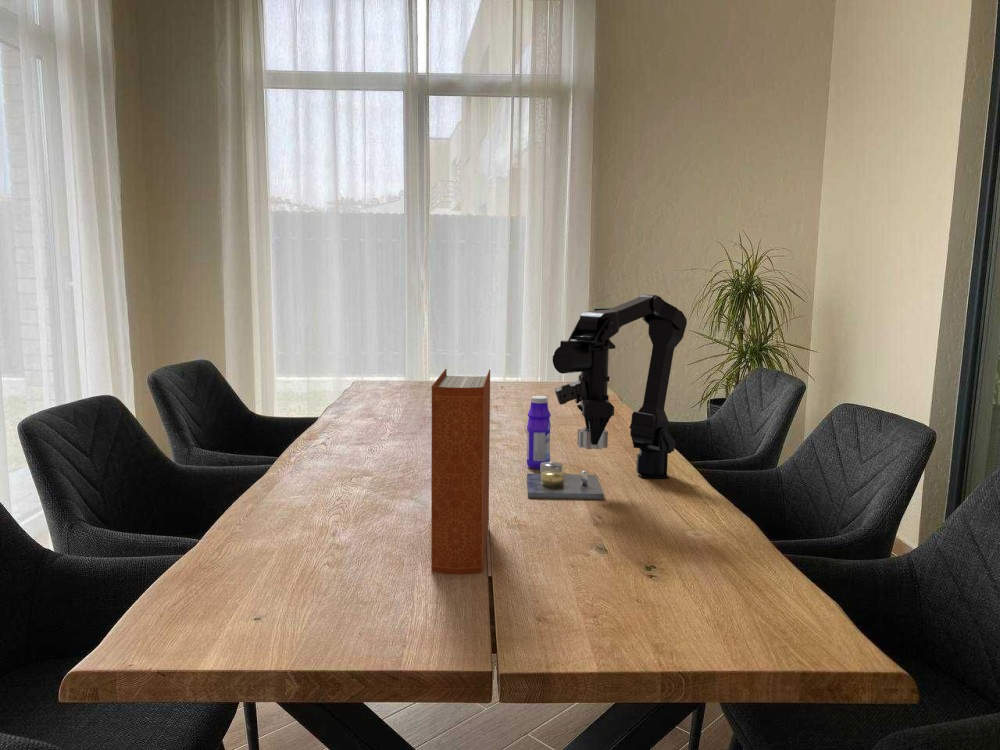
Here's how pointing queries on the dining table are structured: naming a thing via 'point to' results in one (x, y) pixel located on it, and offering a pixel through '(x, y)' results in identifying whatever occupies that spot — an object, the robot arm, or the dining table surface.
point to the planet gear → (585, 439)
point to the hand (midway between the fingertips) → (592, 441)
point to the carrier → (562, 484)
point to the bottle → (538, 432)
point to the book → (460, 473)
